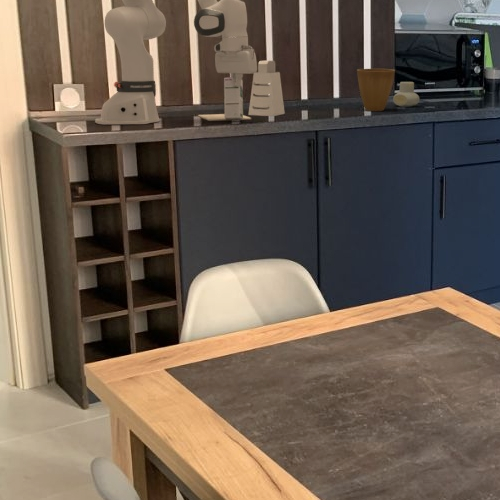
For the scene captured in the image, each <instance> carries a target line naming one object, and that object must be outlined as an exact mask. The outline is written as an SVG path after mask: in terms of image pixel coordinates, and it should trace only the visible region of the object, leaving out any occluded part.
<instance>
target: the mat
mask: <svg viewBox="0 0 500 500" xmlns="http://www.w3.org/2000/svg"><path fill="white" fill-rule="evenodd" d="M197 117H198V118H201V119H203V120H206V121H209V122H210V121H228V120H227V119H226V118H225V113H219V114H218V113H217V114H216V113H215V114H213V113H212V114H198V115H197ZM243 120H244V121H245V120H252V117H250V116H246V115H244V114H243ZM243 120H242V121H243Z"/></svg>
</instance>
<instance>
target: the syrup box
mask: <svg viewBox="0 0 500 500" xmlns="http://www.w3.org/2000/svg"><path fill="white" fill-rule="evenodd" d="M223 79H224V80H223V83H224V84H223V86H224V88H223V91H224V92H223V94H224V99H223V100H224V104H223V107H224V110H223V111H224V114H225V118H226V119H227V120H226V121H243V115H244V99H243V98H244V95H243V92H244V89H243V88H244V87H243V85H244V84H243V83H244V82H243V79H242V80H241V86H240V87H233V81H232V79H231V77H230V76H228V77H224V78H223Z"/></svg>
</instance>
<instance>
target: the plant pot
mask: <svg viewBox="0 0 500 500" xmlns="http://www.w3.org/2000/svg"><path fill="white" fill-rule="evenodd" d="M395 73H396V69H389V68H358V69H356V74H357V81H358V88H359V94H360V98H361V100H362V104H363V108H364V110H365V111H369V112H382V111H384V110H385V108H386V105H387V104H388V100H389V97H390V95H391V91H392V87H393V83H394V78H395Z"/></svg>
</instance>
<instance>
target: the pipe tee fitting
mask: <svg viewBox="0 0 500 500" xmlns="http://www.w3.org/2000/svg"><path fill="white" fill-rule="evenodd" d="M414 89H415V82H413V81H400V83H399V92H397V93H396V94H394V96H393V98H392V101H393V103H394V104H395V105H397V106H398V107H399V108H408V107H409V108H411V107H414V106H417V105H418V104H419V103H420V96H419V95H418V94H417V93H416V92H415V90H414Z"/></svg>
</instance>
